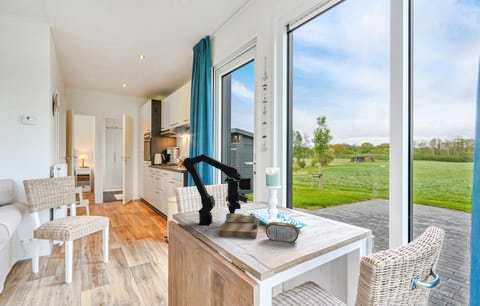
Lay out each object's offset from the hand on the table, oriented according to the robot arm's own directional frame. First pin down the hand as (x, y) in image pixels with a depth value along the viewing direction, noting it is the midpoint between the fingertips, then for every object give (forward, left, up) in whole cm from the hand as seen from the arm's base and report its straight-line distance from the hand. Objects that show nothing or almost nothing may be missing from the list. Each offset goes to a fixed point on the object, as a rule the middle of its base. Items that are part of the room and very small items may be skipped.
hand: (232, 217), depth 131 cm
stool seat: (+6, -7, -4) cm, 10 cm away
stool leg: (+5, -3, -1) cm, 6 cm away
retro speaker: (+27, -19, -4) cm, 33 cm away
